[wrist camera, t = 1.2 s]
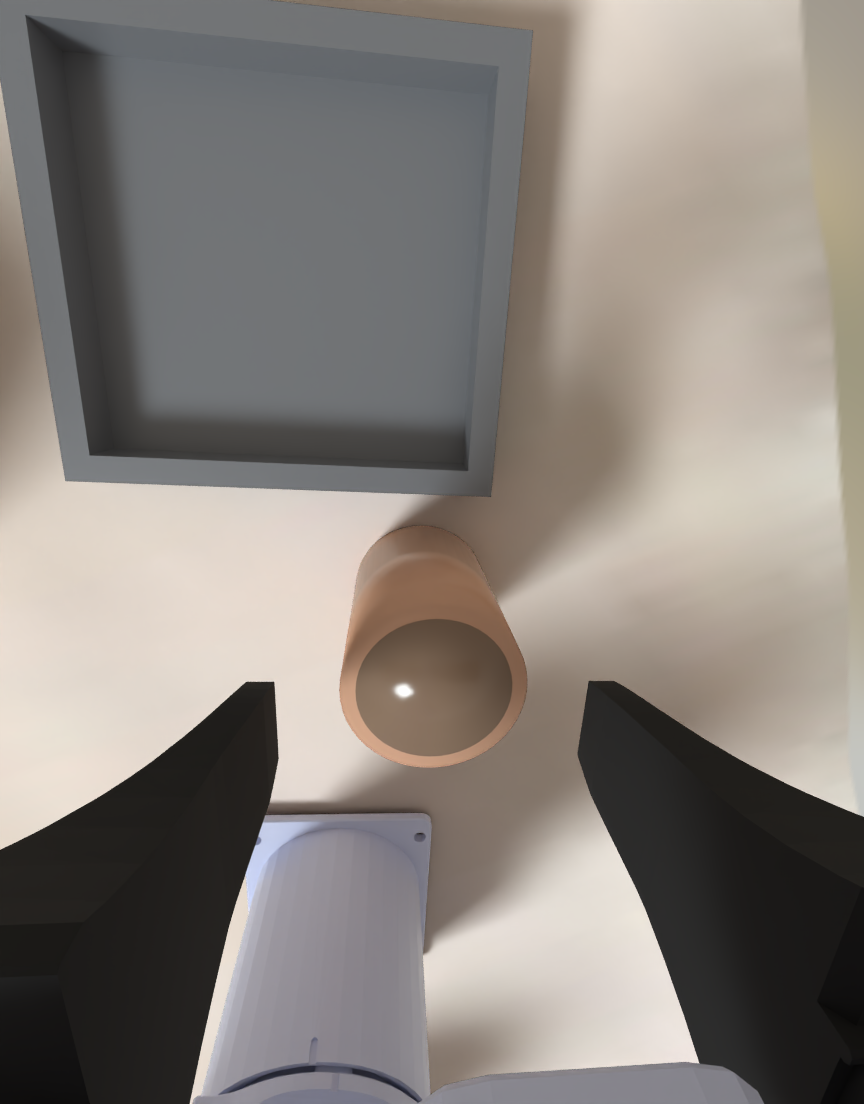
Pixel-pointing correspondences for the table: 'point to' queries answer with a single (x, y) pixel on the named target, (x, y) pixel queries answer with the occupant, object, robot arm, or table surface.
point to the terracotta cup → (428, 653)
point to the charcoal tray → (268, 238)
